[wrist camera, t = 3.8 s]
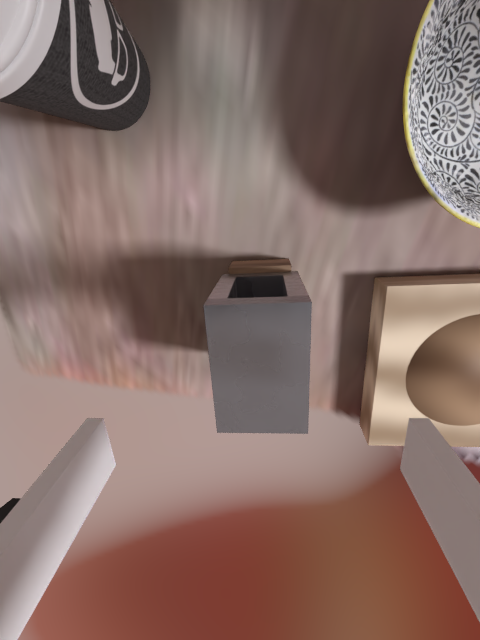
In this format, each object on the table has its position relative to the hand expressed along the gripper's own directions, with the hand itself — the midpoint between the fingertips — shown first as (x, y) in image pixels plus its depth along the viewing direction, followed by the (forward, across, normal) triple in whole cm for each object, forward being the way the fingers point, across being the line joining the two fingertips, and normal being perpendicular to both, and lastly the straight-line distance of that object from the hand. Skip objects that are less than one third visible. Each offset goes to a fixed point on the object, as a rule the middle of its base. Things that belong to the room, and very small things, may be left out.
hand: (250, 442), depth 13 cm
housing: (+14, 0, 0) cm, 14 cm away
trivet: (+16, +18, -5) cm, 25 cm away
